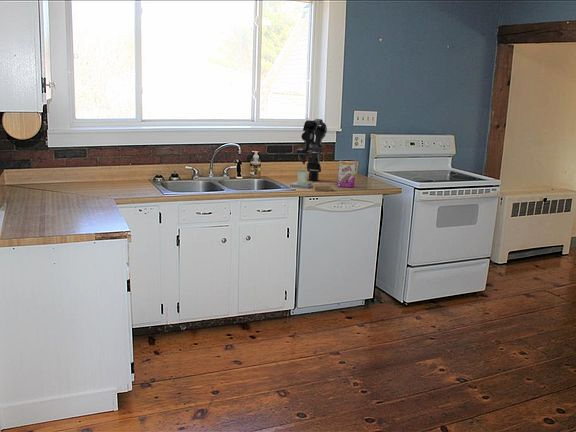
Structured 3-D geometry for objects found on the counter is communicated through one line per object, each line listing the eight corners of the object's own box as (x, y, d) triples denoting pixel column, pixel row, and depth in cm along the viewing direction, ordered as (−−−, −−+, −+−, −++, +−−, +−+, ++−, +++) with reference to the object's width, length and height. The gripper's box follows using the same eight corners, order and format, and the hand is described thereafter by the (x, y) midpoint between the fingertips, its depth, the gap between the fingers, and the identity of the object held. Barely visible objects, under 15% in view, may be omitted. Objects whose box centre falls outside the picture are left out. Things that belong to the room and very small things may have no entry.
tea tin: (299, 182, 377) (299, 169, 375) (306, 183, 375) (307, 169, 373) (297, 183, 373) (297, 169, 371) (304, 184, 371) (305, 170, 369)
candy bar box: (336, 186, 378) (338, 161, 374) (337, 185, 382) (338, 160, 379) (354, 187, 377) (356, 162, 373) (354, 186, 381) (356, 161, 378)
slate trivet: (295, 183, 382) (296, 181, 381) (313, 185, 378) (313, 183, 378) (290, 186, 370) (290, 184, 370) (308, 188, 367) (308, 186, 366)
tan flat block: (312, 188, 368) (312, 183, 368) (328, 188, 369) (328, 183, 369) (314, 190, 360) (314, 185, 360) (330, 190, 362) (330, 186, 361)
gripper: (309, 141, 367) (308, 166, 371) (328, 140, 380) (327, 164, 384) (296, 139, 375) (295, 164, 378) (315, 139, 388) (314, 162, 391)
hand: (308, 163), depth 383 cm, fingers open, 9 cm apart
